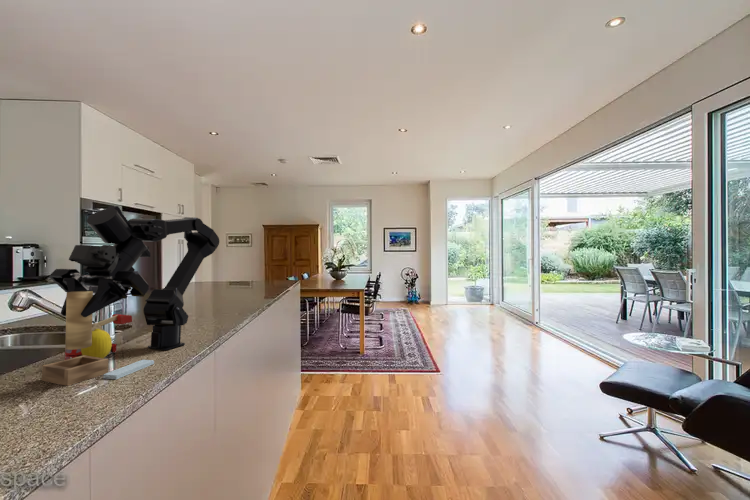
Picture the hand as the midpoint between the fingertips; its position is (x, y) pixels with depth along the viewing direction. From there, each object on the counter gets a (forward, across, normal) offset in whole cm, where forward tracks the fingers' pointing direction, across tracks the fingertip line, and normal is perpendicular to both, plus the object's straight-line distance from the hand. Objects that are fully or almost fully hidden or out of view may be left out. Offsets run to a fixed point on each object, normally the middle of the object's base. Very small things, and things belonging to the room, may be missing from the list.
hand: (72, 315), depth 67 cm
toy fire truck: (-2, -10, +22) cm, 24 cm away
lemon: (+2, -6, +18) cm, 19 cm away
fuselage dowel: (+4, 0, +6) cm, 7 cm away
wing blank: (+4, +5, +15) cm, 17 cm away
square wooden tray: (+7, -2, +12) cm, 14 cm away
